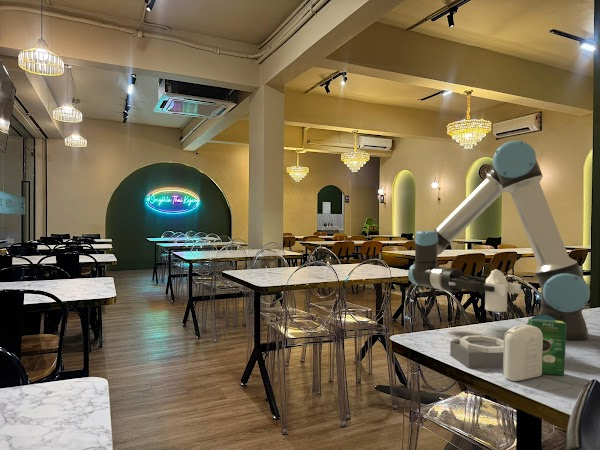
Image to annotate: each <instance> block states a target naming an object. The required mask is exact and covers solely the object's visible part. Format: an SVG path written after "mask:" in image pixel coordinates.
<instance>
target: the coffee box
mask: <svg viewBox="0 0 600 450" xmlns="http://www.w3.org/2000/svg"><path fill="white" fill-rule="evenodd" d="M527 323H528V325H531V326H535V327H537V328H539V329H540V330H541V332H542V334H543V350H542V374H541V375H554V376H565V365H566V364H565V363H566V361H565V360H566V347H567V346H566V341H567V340H566V325H567V324H566V323H565V322H563V321H557V320H542V319H531V318H528V321H527Z"/></svg>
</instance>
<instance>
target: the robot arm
mask: <svg viewBox="0 0 600 450" xmlns="http://www.w3.org/2000/svg"><path fill="white" fill-rule="evenodd" d="M543 177H544V176H543V173H542V169H541V168H540V166H539V163H538V160H537V154H536V151H535V149H534V147H532V145H531V144H529V143H527V142H525V141H523V140H510V141H507V142H504V143H502V144H501V145H500V146H499V147H497V149H496V151H495V152H494V154H493V156H492V167H491V168H490V169H489V170H488V172H487V173H486V178H485V179H483V181H482V182H481V183H480V184H479V185H477V187H476V188H475V189H474V190H473V191H472V192H471V193H470V194H469V195H468V196H467V197H466V198H465V199H464V200H462V202H460V204H459V205H458V206H456V208H455V209H454V210H453V211H452V212H451V213H449V215H447V216H446V218H445V219H444V220H443V221H442V222H441V223H440V224H439V225H438V226H437V227H436V228H434V230H417V231H416V232H415V237H414V238H415V239H414V245H415V246H414V249H415V250H414V263H413V264H412V265H410V267H409V269H408V271H407V277H408V280H409V281H410V282H411V283H412V284H413V285H416V286H420V287H426V288H432V289H436V290H439V292H443V291H446V292H451V293H458V292H460V291H463V290H464V291H468V292H473V293H478V292H479V295H484V293H485V292H486V293H492V294H497V295H503V296H507V297H508V293H512V294H515V295H521V293H522V291H521V289H522V284H520V283H513V282H509V281H507V283H508V290H507V286H504V285H498V284H491V283H486V279H487V278H488V277H481V276H471V275H467V274H464V272H463V271H462V270H461V269H459V268H454V267H453V268H452V267H451V268H450V267H444V266H438V256H439V255H441V254H442V253H443V252H444V251H445V250H446V248H447V247H448V246H450V244H452V242H453V241H454V240H456V238H457V237H458V236H460V234H462V233H463V232H464V231H465V230H466V229H467V228H468V227H469V226H470V225H471V224H473V222H474V221H475V220H476V219H478V218H479V216H480V215H482V213H484V211H486V210H487V209H488V208H489V206H491V205H492V204H493V203H494V202H495V201H496V200H497V199H498V198H499V197H500V196H501V195H502V194H503V193H509V194H510V196H511V198H512V200H513V203H514V206H515V209H516V211H517V214H518V217H519V219H520V221H521V225H522V227H523V230H524V232H525V234H526V237H527V240H528V243H529V245H530V248H531V250H532V254H533V256H534V259H535V261H536V264H537V267H536V268H535V270H534V273H535V276H536V279H537V282H538V285H539V286H540V310H539V312H538V315H548V316H551V317H552V318H554V319H555V320H557V321H563V322H565V323H566V324H567V325H566V341H567V340H568V341H583V340H587V339H588V338H589V330H588V328H587V324H586V321H585V318H584V314H583V308H584V307H585V306H586V305H587V304H588V302H589V300H590V297H591V296H590V295H591V289H590V285H589V284H588V283H587V282H586V280H585V278H584V271H583V268H582V266H580V265H579V263H578V261H577V260H576V259H573V258H571V257H570V256H569V254H568V252H567V249H566V246H565V243H564V240H563V239H562V236H561V233H560V231H559V228H558V227H557V226H558V225H557V224H556V221H555V219H554V216H553V214H552V211H551V208H550V205H549V203H548V201H547V199H546V196H545V193H544V190H543V188H542V185H541V181H542V179H543Z"/></svg>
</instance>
